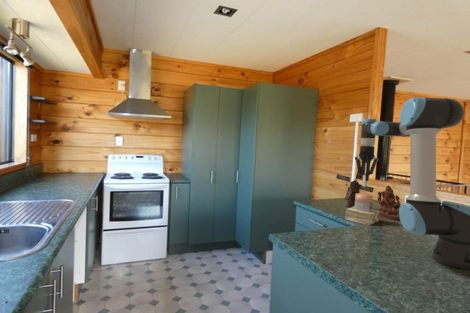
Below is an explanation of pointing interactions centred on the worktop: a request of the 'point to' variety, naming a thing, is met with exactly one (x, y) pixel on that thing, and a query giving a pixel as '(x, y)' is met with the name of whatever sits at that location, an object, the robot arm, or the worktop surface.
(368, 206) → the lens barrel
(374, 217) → the square wooden block
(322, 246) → the worktop surface
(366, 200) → the pink mushroom-shaped knob
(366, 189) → the miniature windmill
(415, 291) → the worktop surface
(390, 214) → the sculpture
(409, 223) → the robot arm
